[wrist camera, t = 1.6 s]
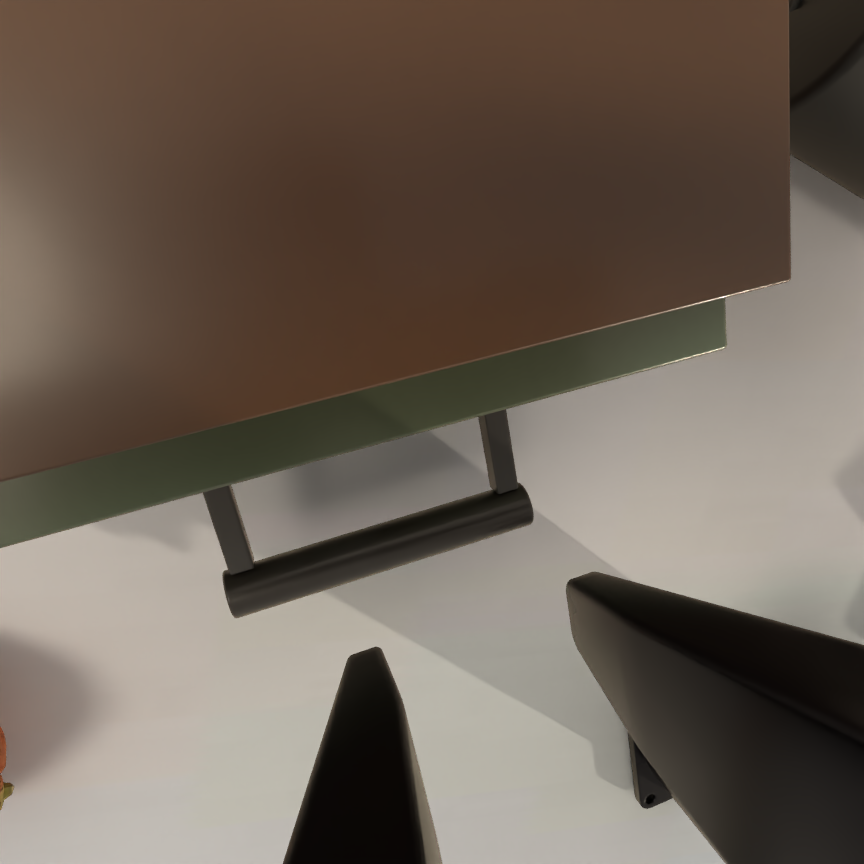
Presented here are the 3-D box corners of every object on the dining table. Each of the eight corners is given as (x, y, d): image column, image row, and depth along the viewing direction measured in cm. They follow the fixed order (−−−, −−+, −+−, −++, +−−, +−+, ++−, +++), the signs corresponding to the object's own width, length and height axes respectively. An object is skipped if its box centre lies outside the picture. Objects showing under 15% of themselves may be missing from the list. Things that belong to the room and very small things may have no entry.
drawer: (551, 455, 22) (738, 575, 14) (143, 575, 19) (76, 817, 11) (444, -331, 15) (678, -975, 7) (-200, -327, 13) (-990, -1378, 4)
